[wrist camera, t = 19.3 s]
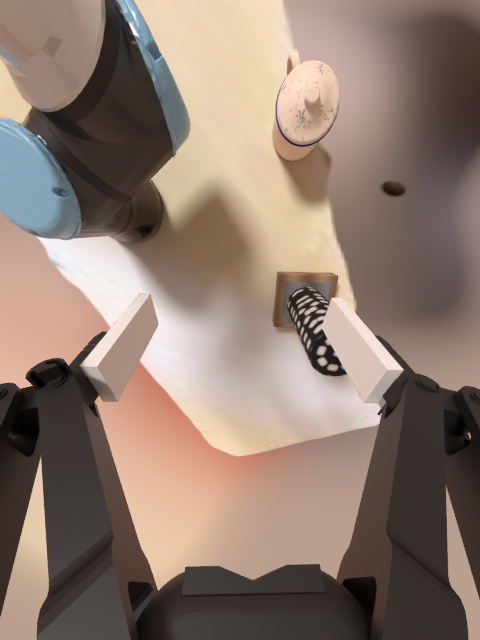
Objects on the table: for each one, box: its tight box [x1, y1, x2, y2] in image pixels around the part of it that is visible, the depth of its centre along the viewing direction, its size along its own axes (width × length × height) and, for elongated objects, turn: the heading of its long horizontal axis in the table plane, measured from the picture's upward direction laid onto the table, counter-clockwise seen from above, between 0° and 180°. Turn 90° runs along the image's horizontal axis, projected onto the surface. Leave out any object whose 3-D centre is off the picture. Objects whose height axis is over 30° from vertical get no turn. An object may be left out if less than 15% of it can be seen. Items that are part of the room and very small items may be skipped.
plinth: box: [273, 272, 338, 327], centre depth 48 cm, size 13×13×4 cm
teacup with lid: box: [272, 49, 340, 161], centre depth 31 cm, size 12×9×12 cm
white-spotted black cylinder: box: [287, 287, 347, 376], centre depth 37 cm, size 8×8×20 cm
